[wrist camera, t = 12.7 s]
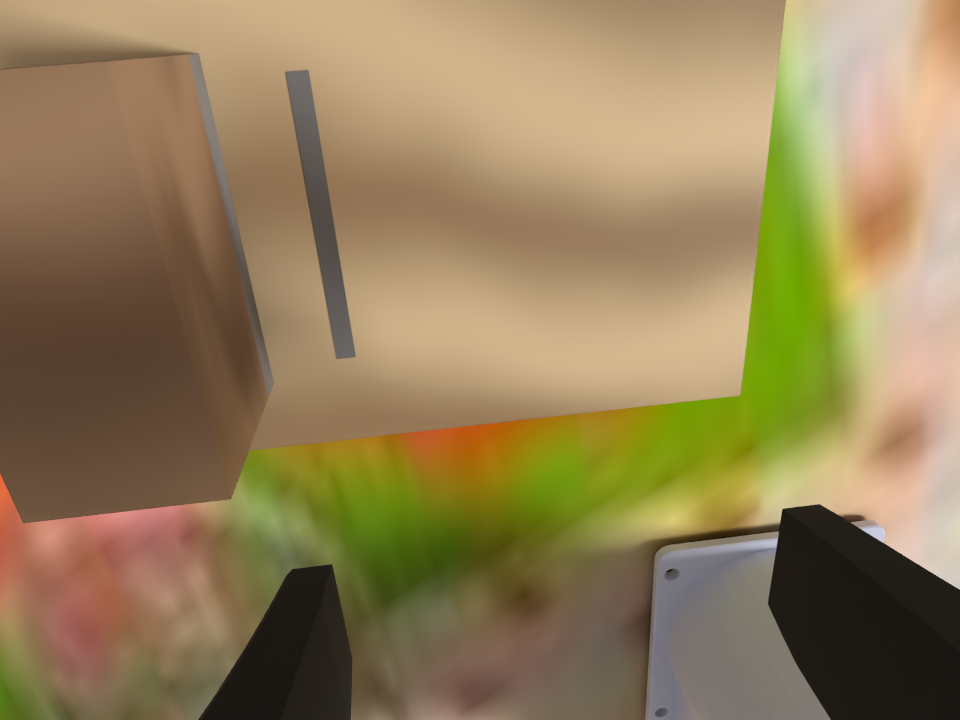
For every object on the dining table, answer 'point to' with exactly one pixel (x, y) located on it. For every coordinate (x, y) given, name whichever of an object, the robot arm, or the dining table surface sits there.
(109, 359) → the block
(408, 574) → the dining table surface
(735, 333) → the pine board
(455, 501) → the dining table surface
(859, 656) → the robot arm
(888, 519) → the dining table surface
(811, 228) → the dining table surface
